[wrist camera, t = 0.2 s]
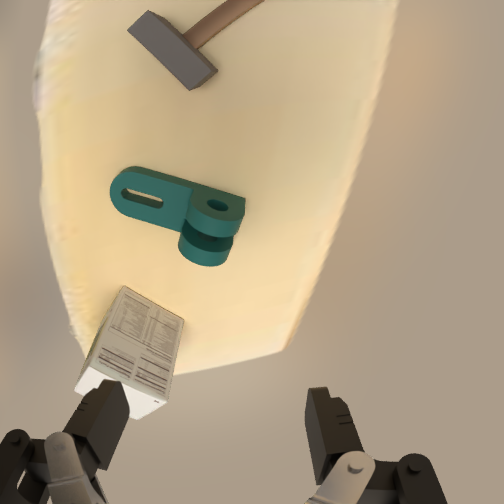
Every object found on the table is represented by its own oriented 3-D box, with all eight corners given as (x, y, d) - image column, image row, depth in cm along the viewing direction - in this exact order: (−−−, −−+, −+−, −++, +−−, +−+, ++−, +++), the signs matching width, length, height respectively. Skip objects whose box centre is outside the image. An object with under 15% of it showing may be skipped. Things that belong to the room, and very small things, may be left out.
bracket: (245, 197, 40) (243, 227, 33) (229, 237, 43) (225, 272, 37) (119, 160, 36) (94, 183, 30) (113, 203, 40) (90, 231, 33)
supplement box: (123, 283, 48) (88, 365, 34) (185, 319, 53) (169, 403, 39) (101, 319, 54) (72, 390, 40) (155, 349, 59) (138, 421, 45)
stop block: (146, 34, 26) (126, 30, 21) (164, 17, 25) (147, 10, 20) (199, 87, 31) (189, 90, 26) (218, 70, 30) (211, 71, 25)
